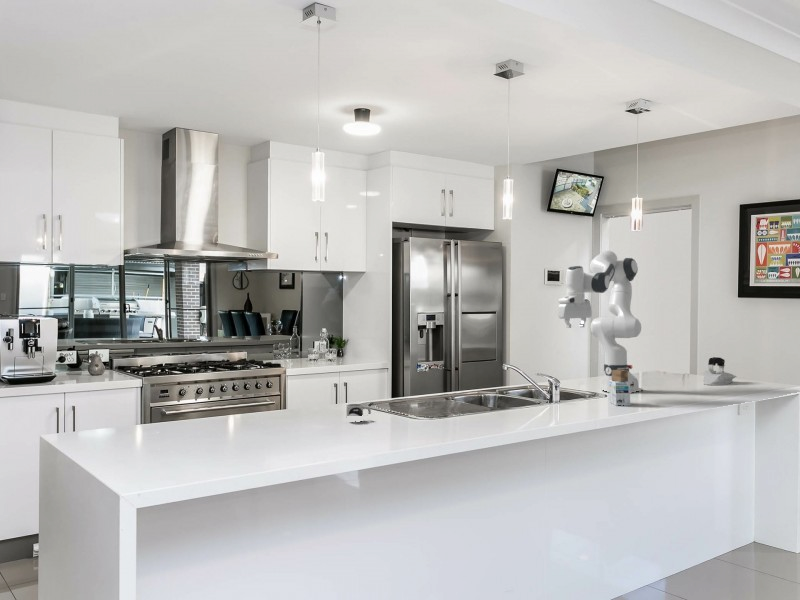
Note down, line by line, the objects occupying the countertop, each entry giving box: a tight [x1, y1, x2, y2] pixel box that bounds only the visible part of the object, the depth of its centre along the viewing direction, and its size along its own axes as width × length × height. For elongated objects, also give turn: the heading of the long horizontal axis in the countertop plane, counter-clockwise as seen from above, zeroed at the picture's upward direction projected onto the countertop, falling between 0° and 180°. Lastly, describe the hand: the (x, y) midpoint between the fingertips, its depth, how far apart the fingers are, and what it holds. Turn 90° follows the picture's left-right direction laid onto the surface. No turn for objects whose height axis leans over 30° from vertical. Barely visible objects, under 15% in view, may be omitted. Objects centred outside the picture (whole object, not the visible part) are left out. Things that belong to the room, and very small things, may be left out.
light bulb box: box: [609, 380, 631, 407], centre depth 319 cm, size 11×7×11 cm, turn 178°
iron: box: [703, 356, 737, 386], centre depth 393 cm, size 11×24×15 cm, turn 133°
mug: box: [345, 403, 372, 417], centre depth 281 cm, size 10×7×7 cm, turn 105°
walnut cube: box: [612, 370, 628, 382], centre depth 319 cm, size 5×5×5 cm
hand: (575, 327), depth 338 cm, fingers open, 8 cm apart
